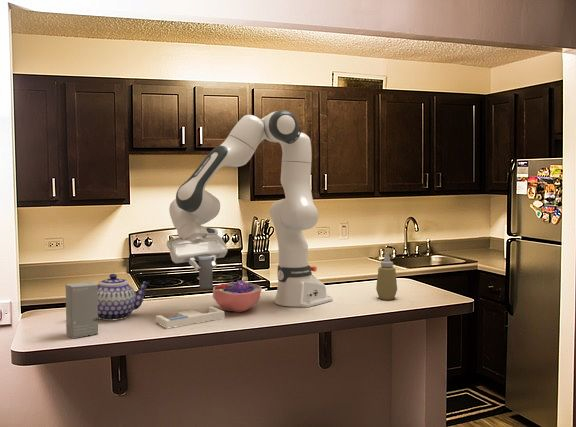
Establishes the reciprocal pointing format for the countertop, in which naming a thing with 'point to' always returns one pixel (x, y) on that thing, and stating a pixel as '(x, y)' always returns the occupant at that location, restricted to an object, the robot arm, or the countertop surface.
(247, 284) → the cell model
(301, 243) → the robot arm
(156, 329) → the countertop surface
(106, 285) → the teapot
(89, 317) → the skincare box
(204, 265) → the stub
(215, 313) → the cream holder tray
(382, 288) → the squeeze bottle
